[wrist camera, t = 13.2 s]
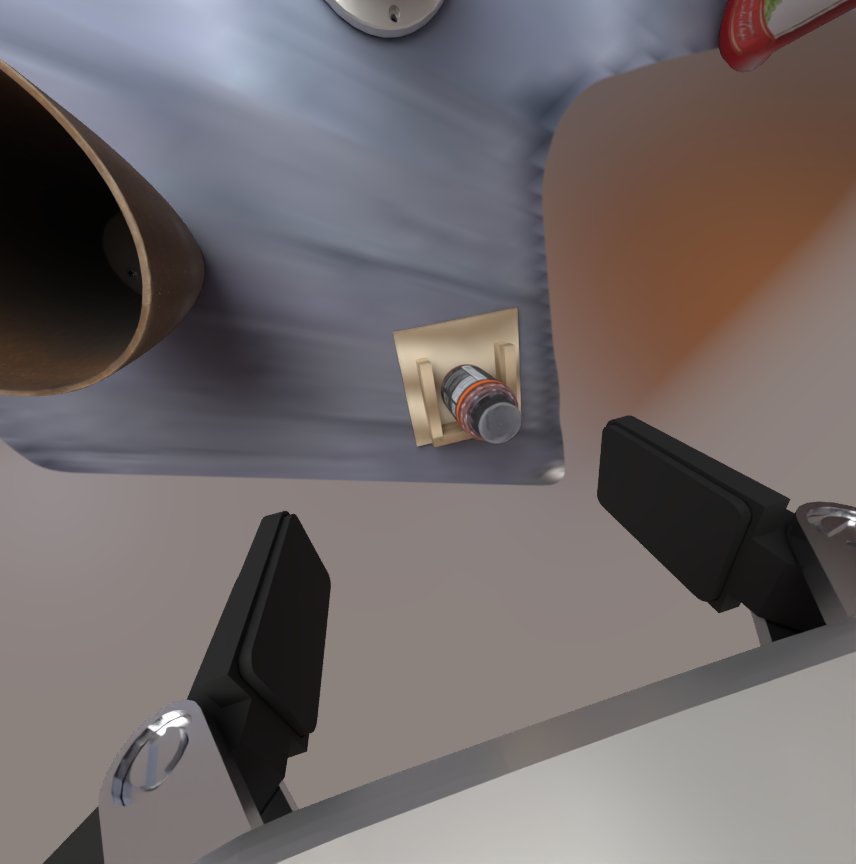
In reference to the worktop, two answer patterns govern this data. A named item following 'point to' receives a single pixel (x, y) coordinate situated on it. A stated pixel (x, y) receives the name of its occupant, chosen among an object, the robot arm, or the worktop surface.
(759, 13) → the liquor
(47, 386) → the plant pot
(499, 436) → the supplement bottle
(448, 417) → the cradle
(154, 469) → the worktop surface
